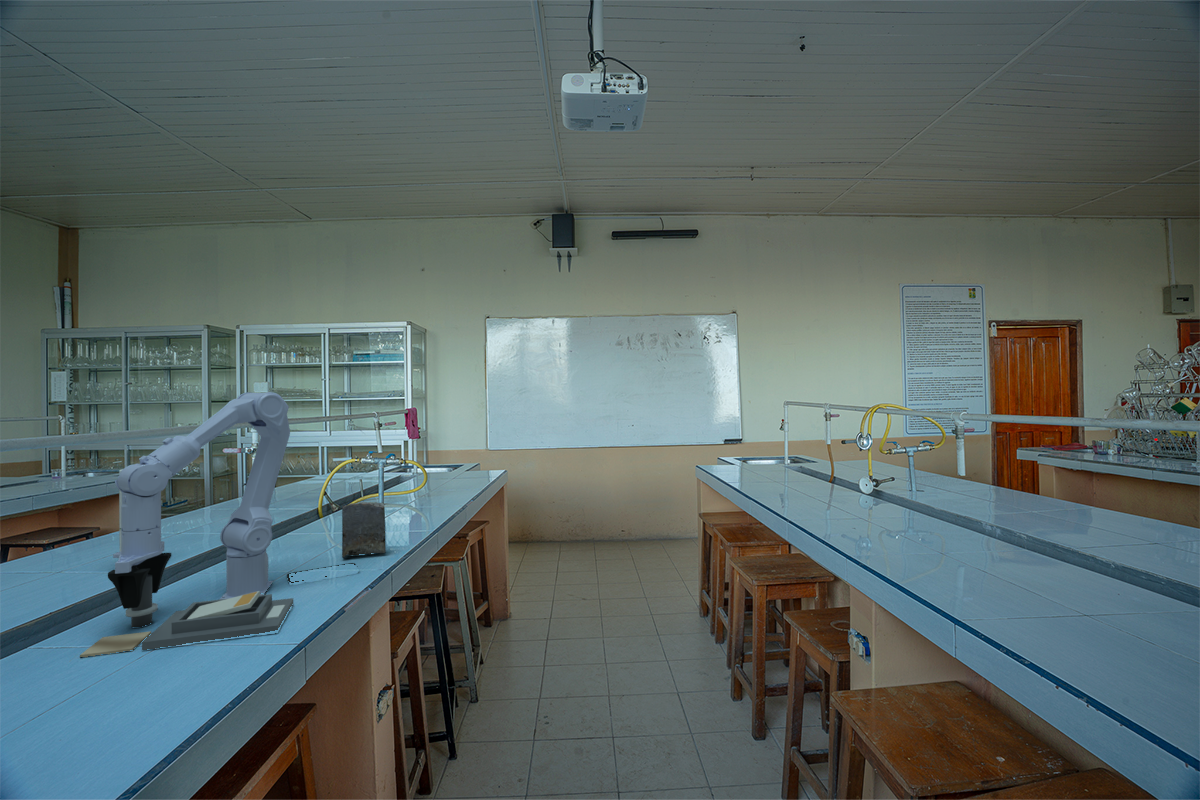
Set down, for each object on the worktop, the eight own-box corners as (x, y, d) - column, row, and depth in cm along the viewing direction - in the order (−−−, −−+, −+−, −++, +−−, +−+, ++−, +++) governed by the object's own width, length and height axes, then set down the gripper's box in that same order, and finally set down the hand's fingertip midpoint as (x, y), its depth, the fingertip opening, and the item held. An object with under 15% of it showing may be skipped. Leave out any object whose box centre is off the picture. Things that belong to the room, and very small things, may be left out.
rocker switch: (200, 610, 102) (199, 605, 102) (260, 594, 105) (259, 590, 105) (186, 624, 95) (185, 620, 95) (250, 607, 98) (249, 603, 98)
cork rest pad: (102, 639, 94) (102, 637, 94) (151, 634, 97) (151, 631, 97) (79, 658, 88) (79, 655, 88) (132, 651, 90) (132, 648, 90)
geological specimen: (385, 551, 149) (385, 497, 149) (385, 557, 143) (385, 501, 143) (342, 555, 145) (342, 500, 144) (341, 562, 139) (341, 504, 139)
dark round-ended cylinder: (132, 621, 102) (132, 574, 102) (162, 618, 104) (161, 571, 104) (120, 631, 98) (120, 582, 98) (151, 627, 99) (151, 579, 99)
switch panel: (176, 618, 103) (176, 600, 103) (293, 605, 110) (293, 588, 110) (141, 651, 90) (141, 630, 90) (277, 633, 97) (277, 614, 97)
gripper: (134, 521, 106) (133, 589, 106) (93, 539, 92) (93, 617, 92) (176, 518, 109) (176, 585, 109) (143, 535, 95) (143, 612, 95)
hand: (141, 600), depth 101 cm, fingers open, 7 cm apart
